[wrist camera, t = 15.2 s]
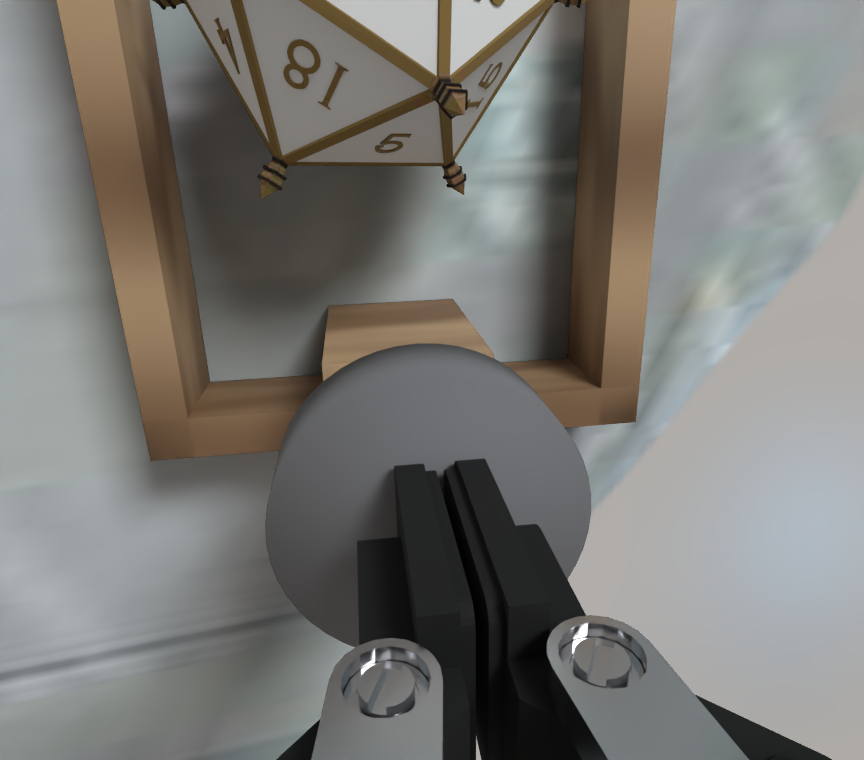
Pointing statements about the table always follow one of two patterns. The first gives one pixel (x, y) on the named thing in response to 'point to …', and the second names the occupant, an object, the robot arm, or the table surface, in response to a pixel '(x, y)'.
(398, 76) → the game die
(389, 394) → the wheel
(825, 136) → the table surface
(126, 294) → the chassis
